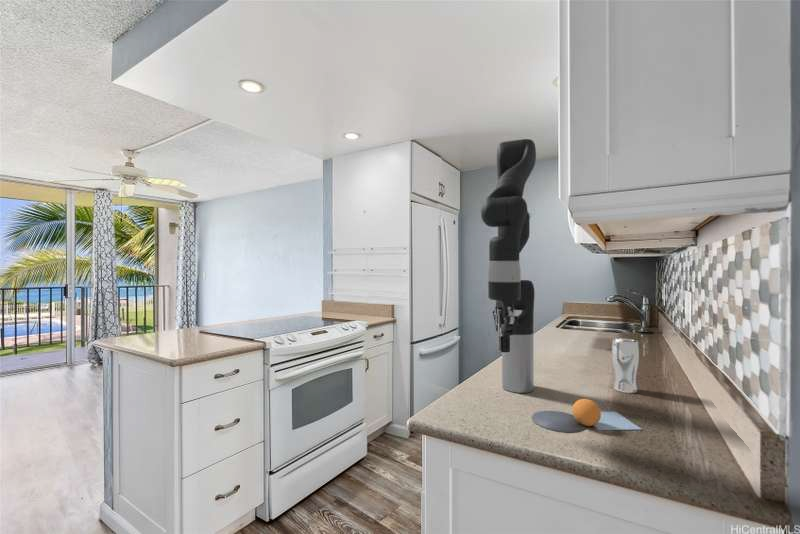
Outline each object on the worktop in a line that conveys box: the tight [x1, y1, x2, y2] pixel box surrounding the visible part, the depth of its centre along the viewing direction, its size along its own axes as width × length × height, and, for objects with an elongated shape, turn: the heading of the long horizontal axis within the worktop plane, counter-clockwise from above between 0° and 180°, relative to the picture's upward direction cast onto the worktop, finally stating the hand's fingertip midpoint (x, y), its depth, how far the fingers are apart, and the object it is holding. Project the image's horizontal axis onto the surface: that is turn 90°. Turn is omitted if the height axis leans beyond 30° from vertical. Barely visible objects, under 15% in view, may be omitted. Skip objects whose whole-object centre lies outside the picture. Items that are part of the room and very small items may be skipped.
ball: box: [572, 398, 602, 427], centre depth 87 cm, size 6×6×6 cm
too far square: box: [592, 411, 642, 431], centre depth 89 cm, size 10×10×1 cm
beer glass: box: [611, 337, 640, 394], centre depth 111 cm, size 7×7×15 cm
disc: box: [531, 410, 587, 433], centre depth 89 cm, size 12×12×1 cm
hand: (504, 351), depth 89 cm, fingers closed
